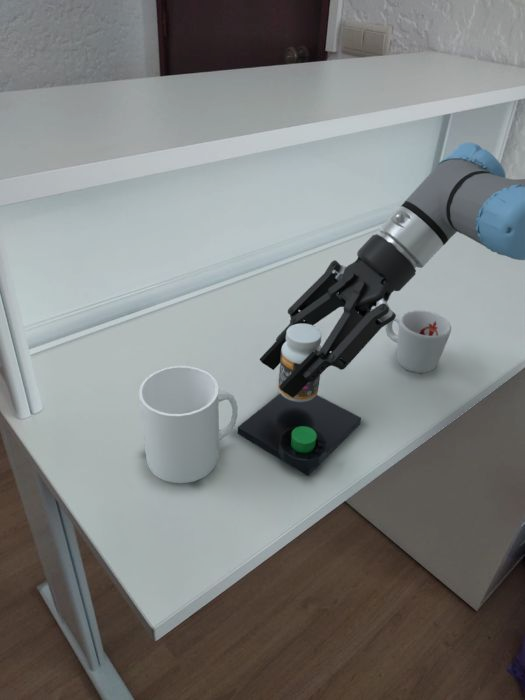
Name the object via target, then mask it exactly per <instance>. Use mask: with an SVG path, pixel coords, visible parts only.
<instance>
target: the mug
mask: <svg viewBox="0 0 525 700" xmlns="http://www.w3.org/2000/svg"><path fill="white" fill-rule="evenodd" d="M138 398H139V405H140V406H139V407H140V414H141V425H142V434H143V442H144V452H145V458H146V463H147V466H148V468H149V470H150V471H151V473H152V474H153V475H154V476H155V477H156V478H159V479H161V480H162V481H164V482H168V483H173V484H187V483H193V482H196V481H198V480H200V479H203V478H205V477H206V476H207V475H209V474H210V473H211V472H212V471H213V470H214V468H215V467H216V466H217V463H218V461H219V451H220V442H221V441H222V440H223V439H224V438H225V437H227V436H228V435H230V434H231V432H232V431H233V430H234V427H235V426H236V423H237V420H238V403H237V400H236V398H235V396H234V395H233V394H232V393H230V392H229V391H227V390H224V389H222V388H219V384H218V381H217V380H216V379H215V378H214V376H213V375H212V374H210V373H209V372H208V371H206V370H203V369H202V368H199V367H195V366H188V365H175V366H167V367H165V368H162V369H159V370H158V369H157V370H156V371H154V372H152V373H150V374H149V375H148V376H147V377H146V378H145V379H144V380H143V381H142V383H141V384H140V386H139V389H138ZM225 400H227V401H228V402H229V403H230V406H231V409H232V411H231V418H230V421H229V423H227V425H226V426H225V427H223V428H222V429H220V411H219V410H220V409H219V407H220V406H219V405H220V404H219V403H220V402H223V401H225Z"/></svg>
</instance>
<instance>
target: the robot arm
mask: <svg viewBox="0 0 525 700" xmlns="http://www.w3.org/2000/svg"><path fill="white" fill-rule="evenodd" d="M379 232H380V234H378V233H375V234H372V235H371V236H370V237H369V238H368V239H367V240H366V242H365V243H364V244H363V245H362V246H361V247H360V248H359V249H358V250H357V253H356V256H357V259H356V260H355V261H353V262H352V263H350V264H348V265H347V266H345V265H342V264H340V262H338V261H337V260H334V259H333V260H332V261H331V262H330V263H329V265H328V267H327V268H326V270H325V271H324V273H323V274H322V275H321V276H320V277H319V278H317V280H316V281H314V283H313V284H312V285H311V286H310V287H309V288H308V289H307V290H306V291H305V292H304V293H302V295H301V296H300V297H299V298H298V299H297V300H296V301H295V302H293V304H292V305H291V306H290V307H289V308H288V310H287V314H288V315H289V317H290V320H289V324H288V325H287V326H286V327H285V328H284V329H283V330H282V331H281V332H280V333H279V334H278V336H277V337H276V339H275V342H274V343H273V344H272V345H271V346H270V347H269V348H268V349H267V350H266V351H265V353H264V354H263V355H262V356H260V358H259V361H260V362H261V363H262V364H263V365H265V366H266V367H268V368H269V369H271V370H272V371H274V370H276V368H277V367H278V366H280V362H281V349H282V346H283V344H284V343H285V342H286V332H287V329H288V328H289V327H290V326H292V325H295V324H310V325H313V326H315V325H316V324H317V323H318V322H320V321H321V320H323V319H325V318H326V317H327V316H329V315H331V314H332V313H333V312H335V311H337V309H339V308H343V311H342V314H341V316H340V317H339V318H338V321H337V322H336V323H335V325H334V327H333V329H332V330H331V331H330V333H329V335H328V336H327V338H326V339H325V341H324V343H323V344H322V346H321V347H322V348H321V349H320V351H318V350H315V352H312V353H311V354H310V355H309V356H308V357H307V358H306V359H305V360H304V361H303V362H302V363H301V364H300V365H299V366H298V367H297V368H296V369H295V370H294V371H293V372H292V373H291V374H290V375H289V377H288V378H287V379H286V380H285V381H284V382H283V383H282V384H281V385H280V386H279V387H278V389H279V388H280V389H281V390H282V391H283V392H285V393H286V394H288V395H289V396H291V397H292V398H294V397H295V396H296V395H297V394H298V393H299V392H300V391H301V390H302V389H303V388H304V386H305V385H306V384H307V383H308V382H309V381H310V382H313V381H315V380H316V379H317V377H319V376H320V377H321V375H322V374H323V373H324V372H325V371H326V370H327V369H328V368H329V367H335V368H336V369H338V370H340V371H343V370H345V369H346V368H347V367H348V365H350V363H352V361H353V360H354V359H355V358H356V357H357V356H358V355H359V354H360V352H361V351H363V349H364V348H365V347H366V346H367V345H368V344H369V342H370V341H371V340H372V339H373V338H374V337H375V336H376V335H377V334H378V333H379V331H381V329H382V328H383V327H386V324H388V323H390V322H391V321H393V320H394V319H395V317H396V313H395V312H394V311H393V310H392V309H391V308H390V305H389V303H388V301H389V299H390V297H391V295H392V293H393V292H398V291H399V292H400V291H401V290H402V289H403V288H404V287H405V286H406V285H407V284H408V283H409V282H410V281H411V280H412V279H413V278H414V277H415V276H416V272H417V270H416V268H418V269H422V268H424V267H425V265H426V264H428V262H429V261H430V260H432V258H433V257H434V256H435V255H436V254H437V253H438V252H439V251H440V250H441V249H442V248H443V246H445V245H446V244H447V243H448V241H449V240H451V238H453V237H454V235H455V234H456V233H458V234H461V235H463V236H465V237H467V238H469V239H471V240H472V241H475V242H476V243H478V244H480V245H481V246H483V247H485V248H486V249H488V250H490V252H492V253H496V254H498V256H499V255H500V256H503V257H507V258H510V259H512V260H517V261H525V178H520V179H519V178H518V179H517V178H516V179H514V178H507V177H506V171H505V168H504V167H503V165H502V163H500V161H499V160H498V159H497V157H496V156H494V155H493V154H492V153H491V152H490V151H488V150H487V149H484V148H482V147H481V146H480V145H479V144H477V143H473V142H463V143H460V144H459V145H457V146H456V147H455V148H454V149H453V150H452V151H451V152H450V153H449V154H448V155H447V156H446V157H444V159H442V160H440V162H438V164H437V165H436V167H434V168H433V170H431V172H430V173H429V174H428V175H427V176H426V177H425V179H424V180H423V181H422V182H420V184H419V185H418V187H416V188H415V190H414V191H412V193H411V194H409V196H408V197H407V198H406V200H404V202H403V203H402V204H401V205H400V206H399V207H398V208H397V209H396V210H395V212H393V213H392V215H390V216H389V218H387V220H386V221H385V222H384V223H383V224H382V225H381V226H380V227H379ZM393 322H394V321H393Z"/></svg>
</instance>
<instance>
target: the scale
mask: <svg viewBox="0 0 525 700" xmlns="http://www.w3.org/2000/svg"><path fill="white" fill-rule="evenodd" d="M361 422H362V417H361V416H359V415H357V414H355V413H353V412H352V411H349V410H347V409H345V408H343V407H341V406H339V405H337V404H335V403H333V402H331V401H330V400H328V399H326V398H324V397H322V396H320V395H318V394H317V395H316V396H315V397H314V398H313V399H311V400H309V401H306V402H294V401H290V400H288V399H286V398H285V397H283V396H282V395H281V393H280V392H279V393H278V394H277V395H276V396H274V398H272V399H271V400H270V401H268V403H266V404H265V405H264V406H262V407H261V408H260V409H258V410H256V412H254V413H253V414H252V415H250V417H248V418H247V419H246V420H244V421H243V422H242V423H241V424H239V425H238V426H237V435H239V436H241V437H242V438H244V439H246V440H247V441H249V442H251V443H252V444H254V445H255V446H256V447H259V448H261V449H262V450H263V451H265V452H267V453H269V454H270V455H272V456H274V457H276V458H277V459H279V460H280V461H282V462H284V463H285V464H286V465H289V466H290V467H292V468H293V469H295V470H297V471H299V472H300V473H302V474H303V475H305V476H307V477H309V476H310V475H312V474H313V473H314V471H315V470H316V469H317V468H318V467H319V466H320V465H321V464H322V463H323V462H324V461H325V460H327V458H328V457H330V455H331V454H332V453H333V452H334V451H336V450H337V448H338V447H339V446H340V445H341V444H342V443H343V442H344V441H345V440H346V439H347V438H348V437H349V436H350V435H351V434H352V433H354V431H355V430H356V429H357V428H358V427H359V426H360V425H361ZM300 426H306V427H309V428H311V429H313V430H314V431H315V432H316V435H317V437H316V445H315V448H314V450H313V451H311V452H309V453H300V452H297V451H295V450H294V449H293V448H292V446H291V436H292V431H293V430H294V429H295V428H297V427H300Z"/></svg>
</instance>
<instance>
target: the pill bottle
mask: <svg viewBox="0 0 525 700" xmlns="http://www.w3.org/2000/svg"><path fill="white" fill-rule="evenodd" d="M321 344H322V331H321V330H320V329H319V328H318V327H317V326H315V325H310V324H295V325H292V326H290V327H289V328H288V329H287V332H286V342H285V343H284V344H283V346H282V349H281V362H280V364H279V373H278V385H277V386H278V391H279V394H280V393H281V395H282V396H283V397H285V398H286V399H288V400H290V401H294V402H306V401H309V400H311V399H313V398H314V397H315V396H316V395H318V392H319V387H320V382H321V381H320V380H321V375H320V376H319V377H317V379H316V380H315V381H313V382H310V381H309V382H308V383H307V384H306V385H305V386H304V388H303V389H302V390H301V391H300V392H299V393H298V394H297V395H296V396H295V397H294V398H292V397H291V396H289V395H288V394H286V393H285V392H283V391H282V390H281V389H280V388H279V386H280V385H281V384H282V383H283V382H284V381H285V380H286V379H287V378H288V377H289V375H290V374H291V373H292V372H293V371H294V370H295V369H296V368H297V367H298V366H299V365H300V364H301V363H302V362H303V361H304V360H305V359H306V358H307V357H308V356H309V355H310V354H311V353H312V352H315V350H318V351H320V349H321V348H322V346H321Z"/></svg>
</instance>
